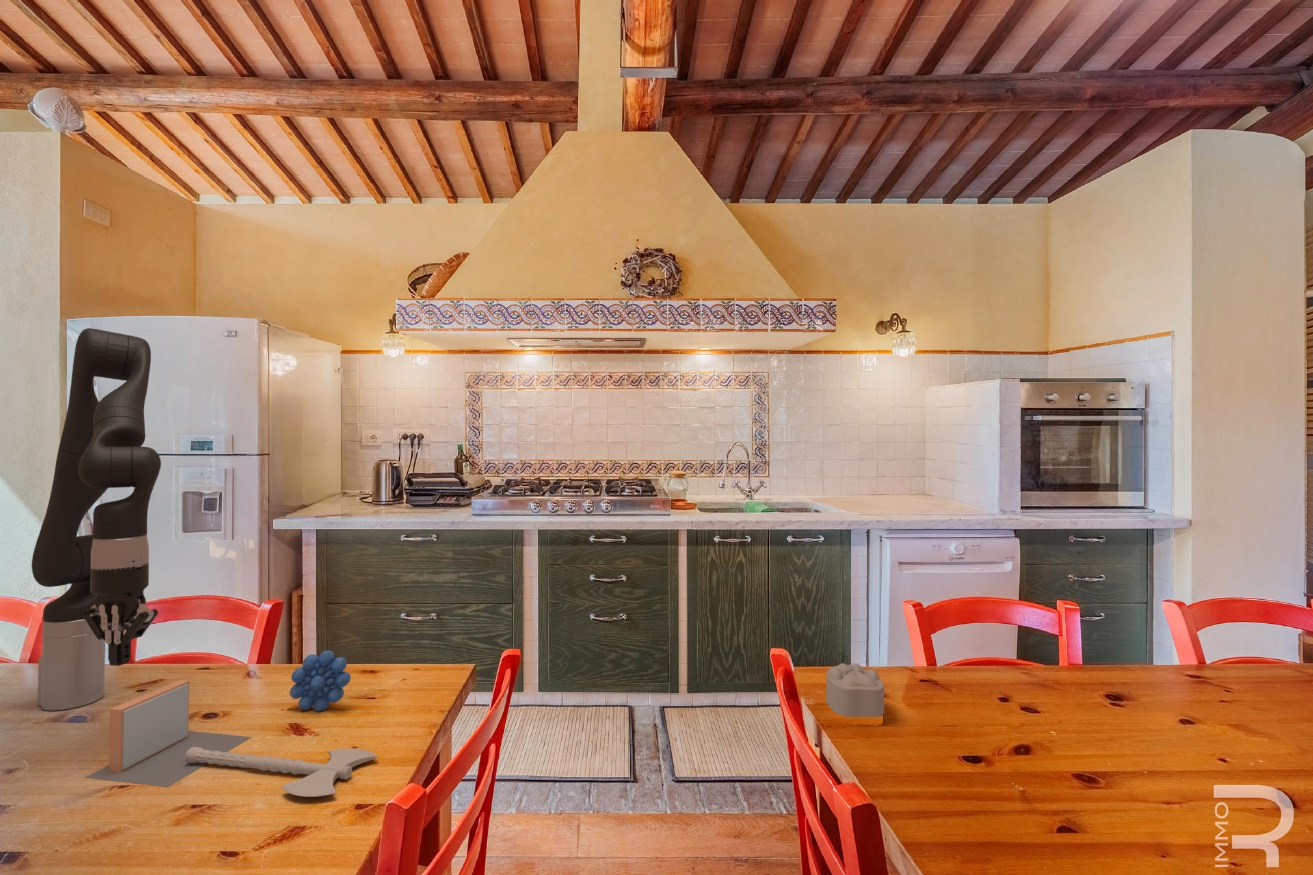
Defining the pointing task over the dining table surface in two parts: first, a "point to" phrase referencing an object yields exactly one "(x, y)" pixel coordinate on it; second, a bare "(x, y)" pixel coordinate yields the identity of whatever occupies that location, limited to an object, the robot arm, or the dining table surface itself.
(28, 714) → the dining table surface
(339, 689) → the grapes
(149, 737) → the tile
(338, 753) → the double-bladed axe
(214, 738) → the mat
